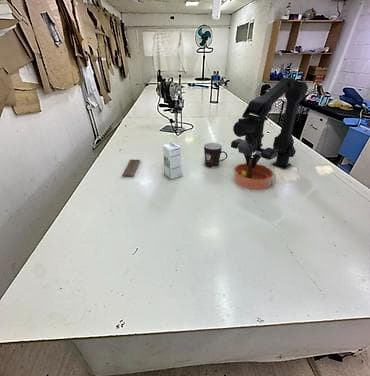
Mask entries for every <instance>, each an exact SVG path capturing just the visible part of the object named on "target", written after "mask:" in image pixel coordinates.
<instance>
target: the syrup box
mask: <svg viewBox="0 0 370 376" xmlns="http://www.w3.org/2000/svg"><path fill="white" fill-rule="evenodd" d="M162 149H163V169H164V170H163V173H164V176H166V177H167V178H168V179H169V180H174V179H176V178H179V177H181V176H182V154H181V153H182V148H181V146H180V144H179V145H178V144H177V143H175V142H169V143H165V144H162Z"/></svg>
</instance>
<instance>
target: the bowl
mask: <svg viewBox="0 0 370 376" xmlns="http://www.w3.org/2000/svg"><path fill="white" fill-rule="evenodd" d="M233 170H234V171H233V181H234V183H236V184H237V185H238V186H240V187H242V188H245V189H248V190H254V191H260V190H261V191H262V190H265V189H268V188H270V187H271V185H272V183H273V177H274V172H273V171H272V169H270V168H269V167H267V166H265V165H262V164H258V163H257V164H256V165H255V167H254V168H253V171H252V178H247V176H246V177H244V176H242V175H240V173H241V172H242V171H246V172H248V166H247V163H246V162H244V163H239V164H237V165H236V166H235V167H234V169H233Z"/></svg>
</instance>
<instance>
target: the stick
mask: <svg viewBox="0 0 370 376" xmlns="http://www.w3.org/2000/svg"><path fill="white" fill-rule="evenodd" d="M252 162H253V156H252V157H251V158H249V164H248V172H247V178H252V171H253V168H252Z"/></svg>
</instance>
